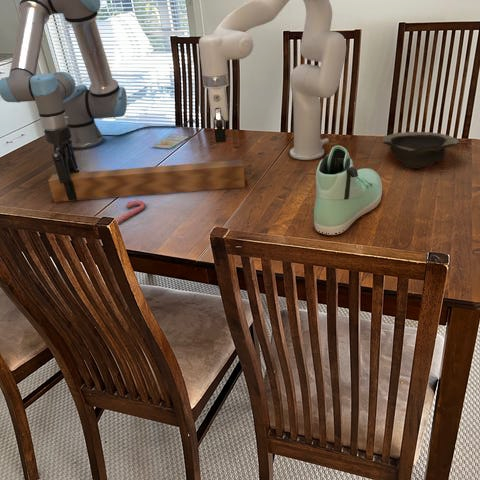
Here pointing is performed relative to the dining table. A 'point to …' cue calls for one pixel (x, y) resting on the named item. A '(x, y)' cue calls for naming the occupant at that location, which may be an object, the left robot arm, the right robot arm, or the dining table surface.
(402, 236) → the dining table surface
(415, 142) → the stone bowl
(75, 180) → the post
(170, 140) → the baking ingredient package
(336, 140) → the dining table surface
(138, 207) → the candy cane
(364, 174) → the sneaker
